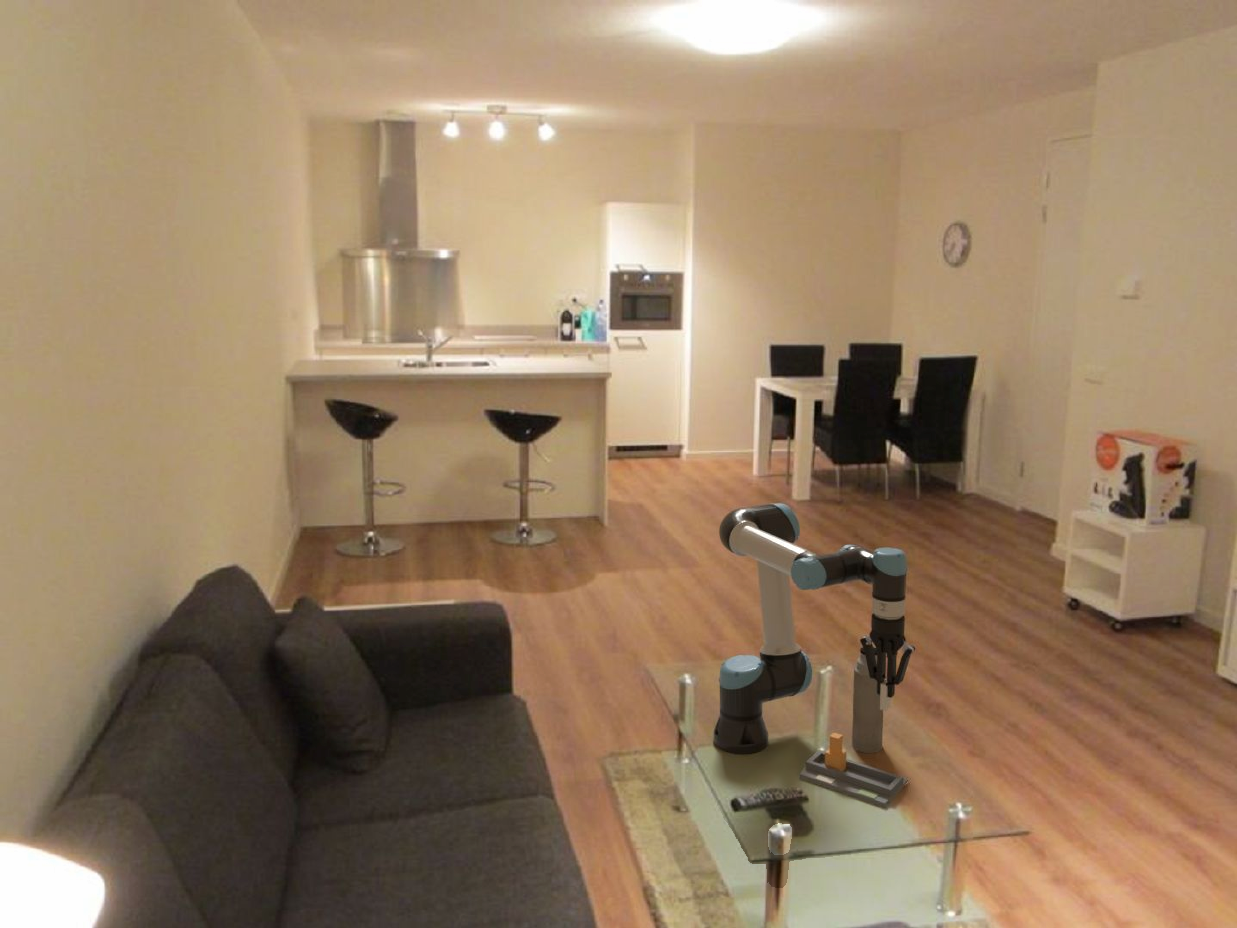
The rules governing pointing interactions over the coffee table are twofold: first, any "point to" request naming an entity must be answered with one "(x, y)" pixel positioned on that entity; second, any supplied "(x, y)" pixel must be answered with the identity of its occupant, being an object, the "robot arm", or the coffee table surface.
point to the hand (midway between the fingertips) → (885, 708)
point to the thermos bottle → (866, 709)
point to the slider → (836, 753)
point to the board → (854, 780)
